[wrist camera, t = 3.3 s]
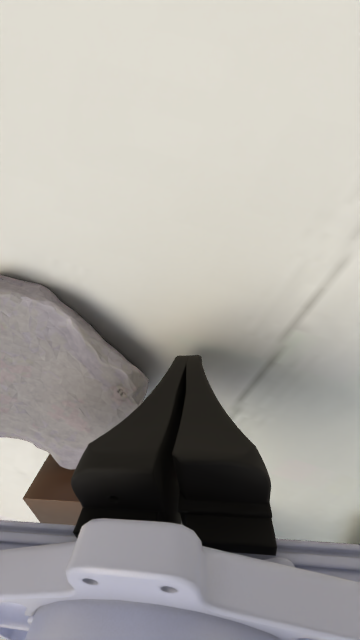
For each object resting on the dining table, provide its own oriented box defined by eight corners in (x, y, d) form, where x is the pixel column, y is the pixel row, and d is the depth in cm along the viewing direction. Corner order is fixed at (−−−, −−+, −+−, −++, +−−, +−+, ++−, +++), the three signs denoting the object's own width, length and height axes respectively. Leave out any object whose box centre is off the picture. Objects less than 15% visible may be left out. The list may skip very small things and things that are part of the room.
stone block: (5, 245, 14) (-45, 370, 17) (-71, 250, 10) (-123, 419, 12) (173, 341, 17) (107, 436, 19) (174, 379, 12) (88, 497, 15)
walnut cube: (134, 468, 21) (115, 541, 17) (81, 466, 22) (49, 535, 17) (122, 430, 19) (97, 503, 14) (63, 429, 19) (22, 498, 15)
